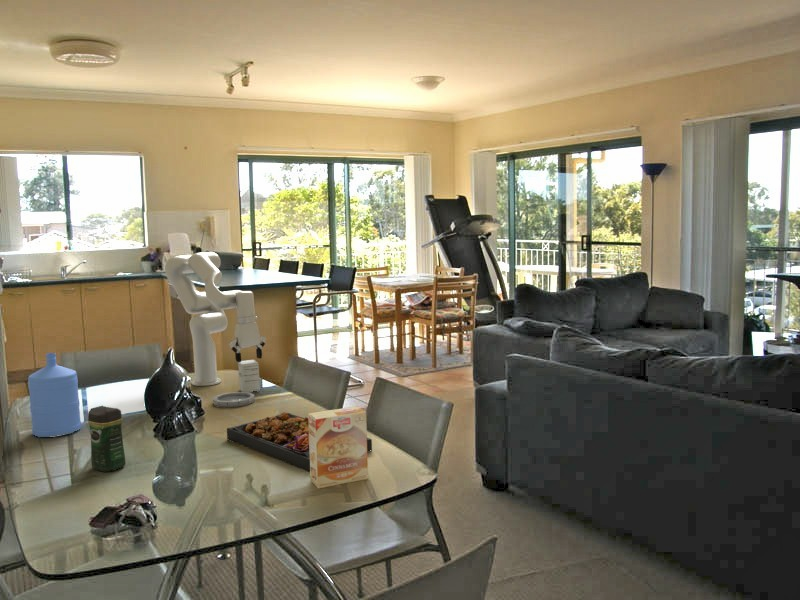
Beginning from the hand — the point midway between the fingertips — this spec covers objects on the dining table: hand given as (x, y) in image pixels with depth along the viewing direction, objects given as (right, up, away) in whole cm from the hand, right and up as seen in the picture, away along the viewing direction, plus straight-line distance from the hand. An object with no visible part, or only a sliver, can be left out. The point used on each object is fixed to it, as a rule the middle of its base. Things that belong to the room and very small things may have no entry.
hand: (249, 360), depth 302 cm
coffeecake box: (+47, -25, -104) cm, 117 cm away
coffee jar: (-23, -25, -89) cm, 95 cm away
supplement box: (0, -14, +2) cm, 14 cm away
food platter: (+31, -22, -72) cm, 82 cm away
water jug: (-57, -21, -51) cm, 79 cm away
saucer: (-2, -16, -17) cm, 23 cm away
